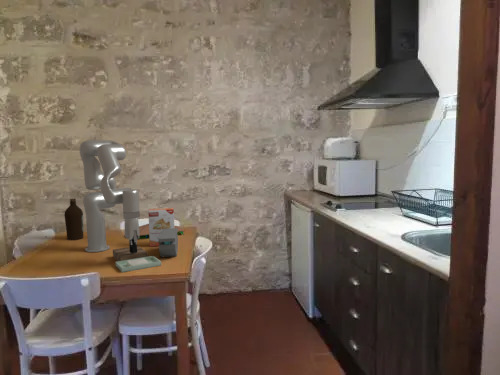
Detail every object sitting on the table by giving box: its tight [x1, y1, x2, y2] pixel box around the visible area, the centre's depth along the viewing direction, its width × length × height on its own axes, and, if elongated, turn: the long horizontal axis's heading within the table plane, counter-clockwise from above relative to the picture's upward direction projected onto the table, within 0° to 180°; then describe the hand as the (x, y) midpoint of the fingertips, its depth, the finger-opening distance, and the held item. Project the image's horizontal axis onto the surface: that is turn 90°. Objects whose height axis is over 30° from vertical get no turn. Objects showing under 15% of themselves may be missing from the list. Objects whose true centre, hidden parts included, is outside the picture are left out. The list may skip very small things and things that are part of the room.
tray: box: [114, 255, 162, 273], centre depth 185 cm, size 12×18×2 cm, turn 122°
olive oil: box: [63, 198, 84, 241], centre depth 246 cm, size 11×11×25 cm
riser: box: [112, 245, 149, 262], centre depth 197 cm, size 16×13×4 cm
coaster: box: [127, 258, 149, 267], centre depth 183 cm, size 8×8×2 cm
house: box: [139, 223, 185, 239], centre depth 254 cm, size 23×33×8 cm
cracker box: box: [147, 207, 175, 248], centre depth 224 cm, size 14×6×21 cm, turn 102°
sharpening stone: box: [158, 228, 179, 258], centre depth 205 cm, size 25×8×11 cm, turn 7°
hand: (133, 252), depth 191 cm, fingers closed
